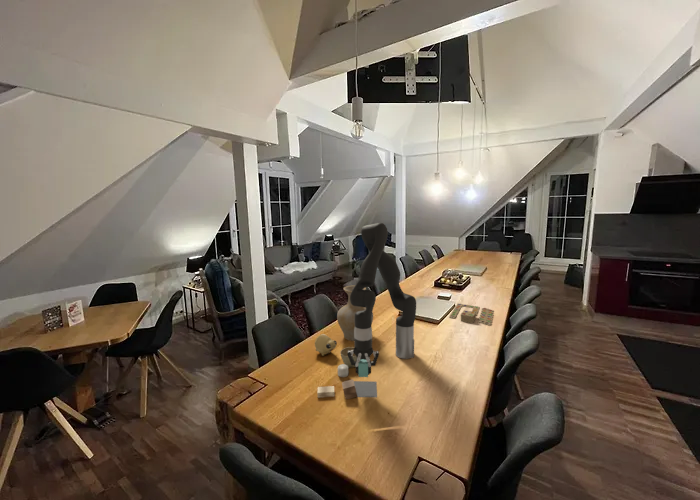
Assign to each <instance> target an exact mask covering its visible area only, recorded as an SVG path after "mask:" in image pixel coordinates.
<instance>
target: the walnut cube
mask: <svg viewBox="0 0 700 500" xmlns="http://www.w3.org/2000/svg"><path fill="white" fill-rule="evenodd" d="M354 381H355V380H354V378H352V379H348V380H345V381H342V382H341V387H342V390H343V395H344V399H345V400H350V399H354V398H358V397H357V393H356V388H355V384H354Z"/></svg>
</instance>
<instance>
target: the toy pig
mask: <svg viewBox="0 0 700 500" xmlns="http://www.w3.org/2000/svg"><path fill="white" fill-rule="evenodd" d="M337 343H338V342H337V341H336V340H334V339H332V337H330V336H328V335H327V334H325V333H322V334H319V335H318V336H317V337H316V339H315V341H314V347H315V351H316V352H318V353H320V354H321V356H322V357H324V356H325V355H327V354H330V353H331V352H332V351H333V350H334V349H336V348H337Z"/></svg>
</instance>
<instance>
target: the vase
mask: <svg viewBox="0 0 700 500" xmlns="http://www.w3.org/2000/svg"><path fill="white" fill-rule="evenodd" d="M355 285H356V284H355ZM355 285H354V284H353V285H347V286H344V287H343V291H344V292H345V293H346V294H347V297H348V298H347V303H346V304H345V305H343V306H342V307H341V308H339V309H338V311H337V314H336V319H337V324H338V325H339V327H340V329H341V332H342V334H343V338H344V339H345V340H347V341H350V342H354V328H355V313H356V312H358V311H363V310H366V307H358V306H353V305H352V304H351V302H350V295H351V292H352V290H353V288H354V287H355ZM363 290H367V287H365V288H364V289H363ZM373 320H374V312H373V311H372V317H371V326H372V324H373Z"/></svg>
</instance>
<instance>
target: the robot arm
mask: <svg viewBox="0 0 700 500" xmlns="http://www.w3.org/2000/svg"><path fill="white" fill-rule="evenodd" d="M360 234H361V238H362V241H363V243H364V245H365V246H366V248H367V249H368V251H369V253H368V254H367V256H366V257H365V258H364V260H363V261H362V263H361V265H360V269H359V274H358V277H357V278H358V279H357V280H356V283H355V287H354V288H353V290H352V292H351V295H350V302H351V304H352V305H353V306H358V307H366V310H363V311H358V312H356V313H355V328H354V341H353V343H354V345H353V347H354V349H353V350H351V351H350V350H348V353H347V355H348V357H349V360H350V363H351V365H354V366H355V367H354V368H355V374H357V376H359V368H358V363H359V361H360V360H362V359H364V360H367V363H368V376H370V374H372V367H373V366H374V367H375V366H376V364H377V361H378V359H379V357H380V351H379V350H374V349H373V327H372V325H371V317H372V312H373V310H374V307H375V305H376V302H377V301H376V300H377V296H376V293H375V292H374V291H373V290H370V289H366V290H363V289H364V288H365V287H366V288H369V287H373V286H374V285H375V283H376V282H375V281H376V277H377V271H378V272H379V273H380V276H381V278H382V280H383V282H384V284H385V286H386V288H387V291H388V293H389V296H390V300H391V302H392V305H393V307H394V308H395V309H396V310H397V311H400V312H402V314H401V315H399V316H397V317H396V319H395V355H396V357H397V358H400V359H403V360H406V359H407V360H408V359H411V358H412V359H413V358H415V338H414V336H415V331H414V329H415V321H416V313H417V300H416V298H415V296H413V295H411V294H407V293H405V292H403V290H402V288H401V285H400V279H401V272H400V268H399V265H398V264H397V262H396V260H395V259H394V258H393V256H390V255H389V254H388V253H387V252H386V251H384V250H385V249H384V248H385V246H386V243H387V240H388V235H389V234H388V228H387V226H386V224H384V223H382V222H376V223H372V224H367V225H363V226H362V227H361V233H360ZM377 269H378V270H377ZM353 353H354V354H355V355H356V356H357V359H356V361H354V359H353ZM372 354H373V358H372V361H371V357H372Z"/></svg>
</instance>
